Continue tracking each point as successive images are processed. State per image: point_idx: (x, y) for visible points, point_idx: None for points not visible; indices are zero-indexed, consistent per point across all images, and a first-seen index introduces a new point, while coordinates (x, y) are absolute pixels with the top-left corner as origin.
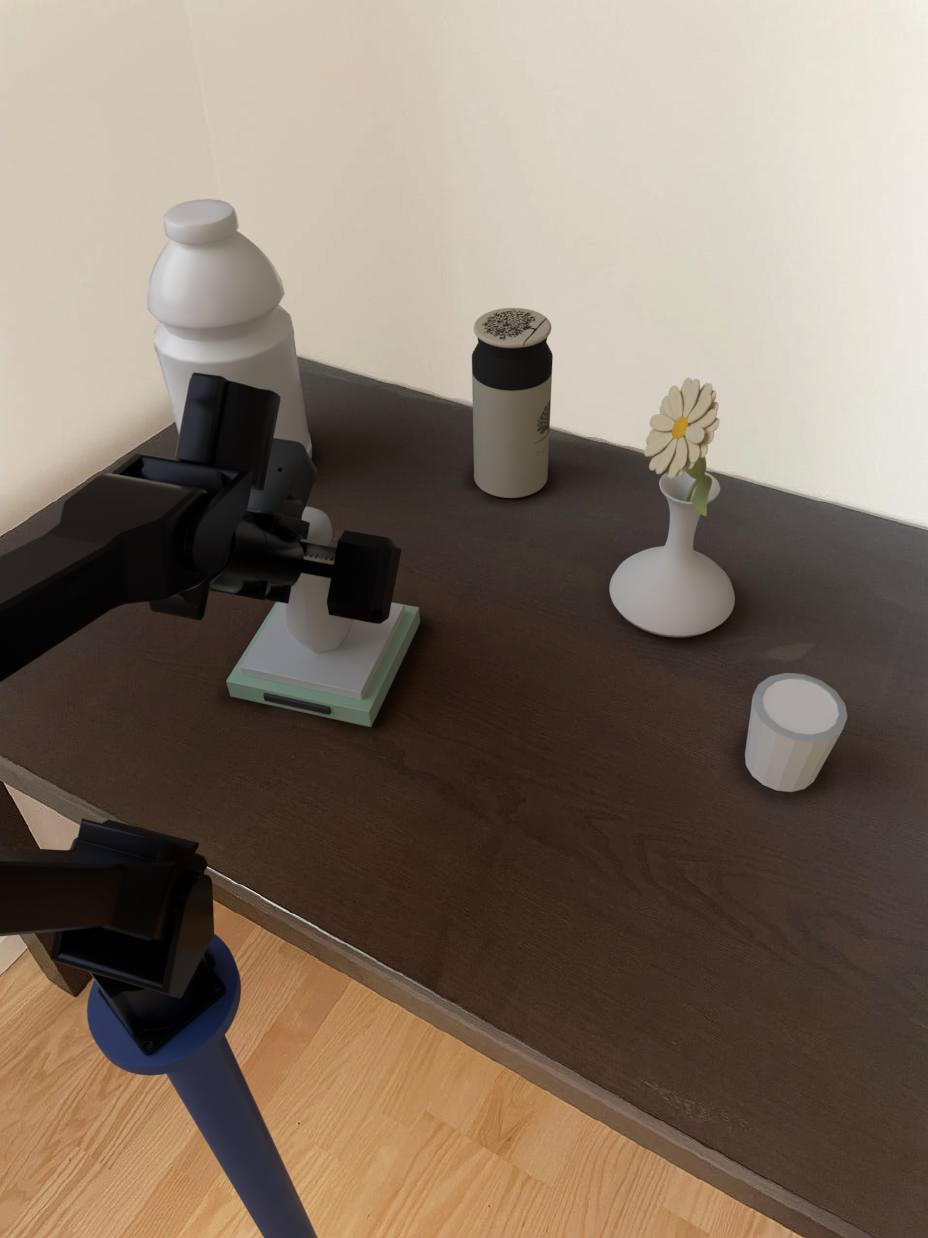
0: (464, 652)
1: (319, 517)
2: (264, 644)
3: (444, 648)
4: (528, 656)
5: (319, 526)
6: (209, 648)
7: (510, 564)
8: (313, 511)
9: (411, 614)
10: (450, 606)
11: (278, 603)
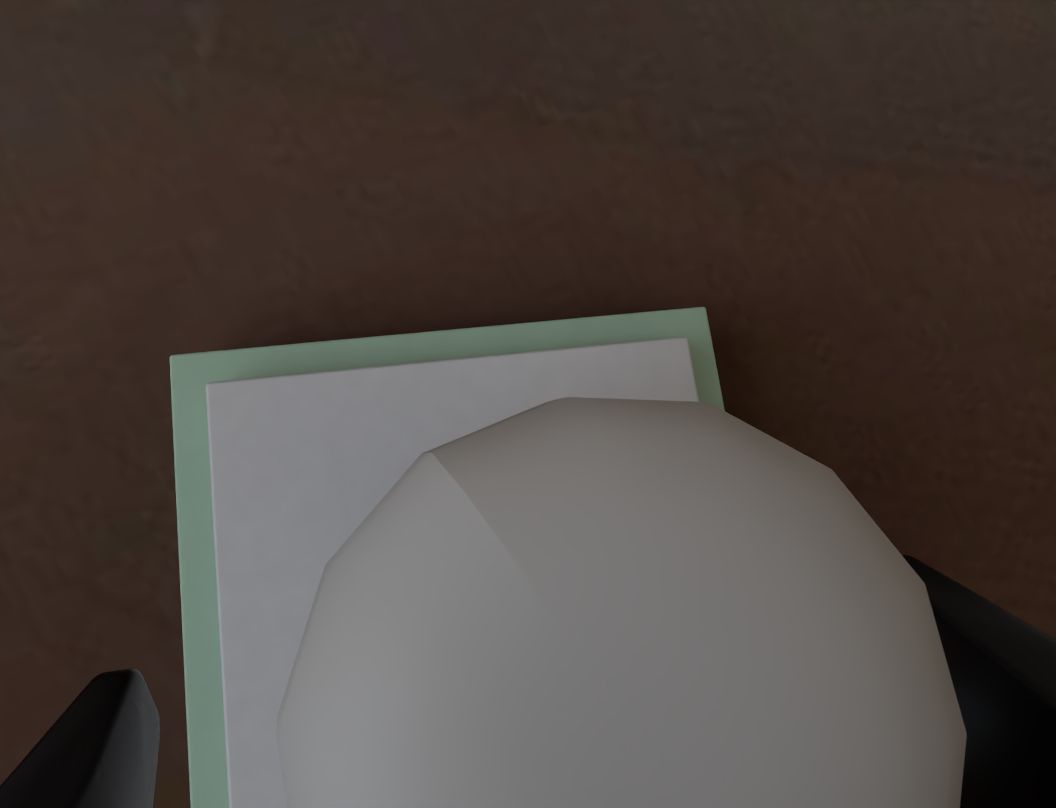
0: (865, 399)
1: (858, 621)
2: (274, 766)
3: (803, 406)
4: (1032, 346)
5: (937, 774)
6: (5, 743)
7: (806, 3)
8: (721, 542)
9: (699, 348)
10: (730, 228)
11: (190, 479)
